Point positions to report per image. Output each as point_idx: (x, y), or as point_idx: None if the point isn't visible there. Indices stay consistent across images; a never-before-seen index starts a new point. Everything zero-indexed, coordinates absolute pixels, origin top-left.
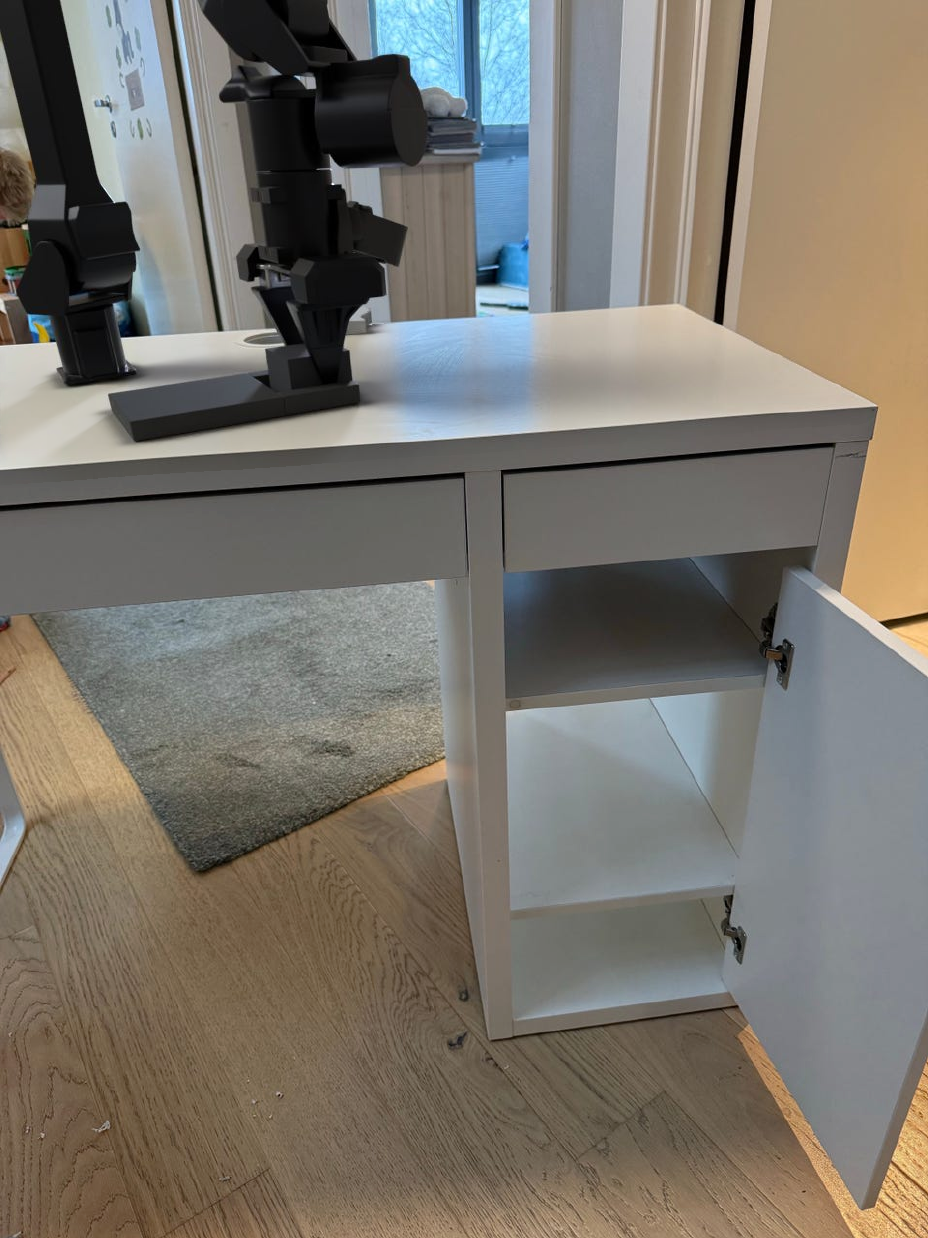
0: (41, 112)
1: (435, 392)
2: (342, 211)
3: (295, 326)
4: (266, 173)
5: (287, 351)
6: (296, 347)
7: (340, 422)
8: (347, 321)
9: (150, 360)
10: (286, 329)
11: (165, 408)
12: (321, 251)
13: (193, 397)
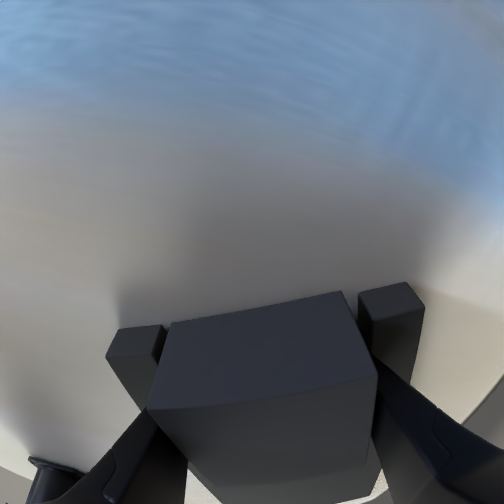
0: None
1: (413, 71)
2: None
3: (163, 491)
4: None
5: (275, 472)
6: (234, 461)
7: (477, 326)
8: (495, 449)
9: (7, 436)
10: (176, 496)
11: (342, 491)
12: None
13: (310, 486)
